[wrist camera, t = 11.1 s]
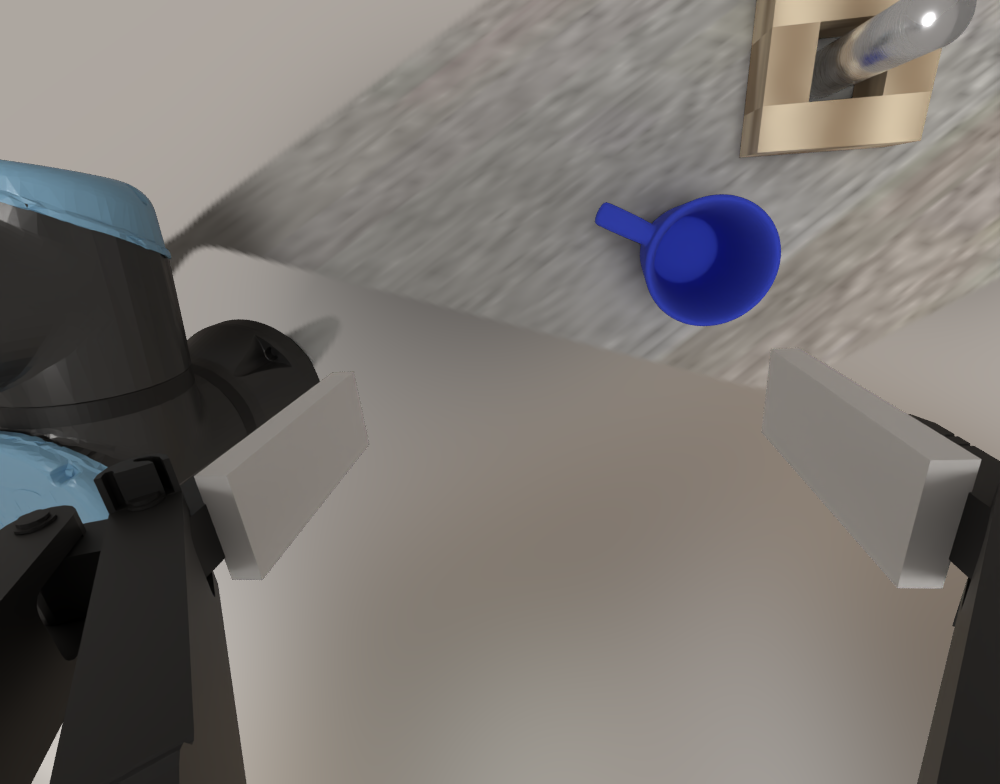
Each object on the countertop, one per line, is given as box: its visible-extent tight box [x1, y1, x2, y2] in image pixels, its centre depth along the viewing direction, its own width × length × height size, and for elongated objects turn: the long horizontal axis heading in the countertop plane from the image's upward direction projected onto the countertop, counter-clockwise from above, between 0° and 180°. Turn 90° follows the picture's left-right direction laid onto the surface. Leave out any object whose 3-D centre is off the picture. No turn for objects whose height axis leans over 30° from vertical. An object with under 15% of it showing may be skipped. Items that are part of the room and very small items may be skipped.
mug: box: [595, 194, 781, 326], centre depth 35 cm, size 8×12×10 cm
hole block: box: [739, 0, 942, 158], centre depth 32 cm, size 10×10×4 cm
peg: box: [809, 0, 976, 99], centre depth 29 cm, size 3×3×12 cm
